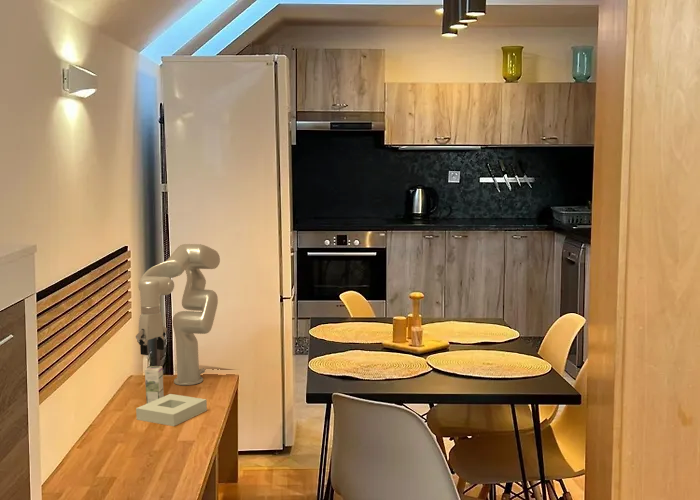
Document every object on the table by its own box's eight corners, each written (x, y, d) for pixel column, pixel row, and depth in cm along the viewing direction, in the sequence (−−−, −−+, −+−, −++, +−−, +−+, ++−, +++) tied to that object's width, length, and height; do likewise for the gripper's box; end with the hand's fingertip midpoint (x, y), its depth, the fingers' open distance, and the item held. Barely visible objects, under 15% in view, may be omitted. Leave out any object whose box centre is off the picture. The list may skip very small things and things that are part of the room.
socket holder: (170, 404, 328) (170, 393, 327) (206, 410, 320) (206, 399, 319) (136, 419, 310) (136, 408, 310) (173, 426, 302) (173, 414, 302)
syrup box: (164, 400, 334) (162, 365, 333) (159, 404, 328) (158, 369, 327) (150, 399, 335) (149, 365, 333) (146, 404, 329) (144, 369, 327)
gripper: (157, 306, 336) (159, 346, 338) (128, 313, 321) (130, 355, 323) (172, 307, 333) (173, 348, 335) (143, 314, 317) (145, 357, 319)
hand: (152, 352), depth 329 cm, fingers open, 9 cm apart
